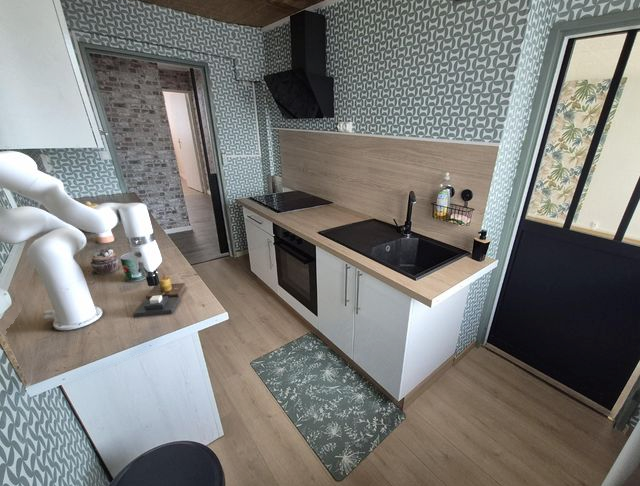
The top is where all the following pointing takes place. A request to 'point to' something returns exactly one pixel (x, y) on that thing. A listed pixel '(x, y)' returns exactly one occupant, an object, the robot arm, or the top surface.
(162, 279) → the yellow rounded cylinder
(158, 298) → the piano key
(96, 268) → the cupcake
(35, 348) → the top surface
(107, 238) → the salt shaker
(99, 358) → the top surface
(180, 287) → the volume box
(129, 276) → the canned tomato
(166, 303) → the dark gray stepped base
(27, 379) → the top surface
